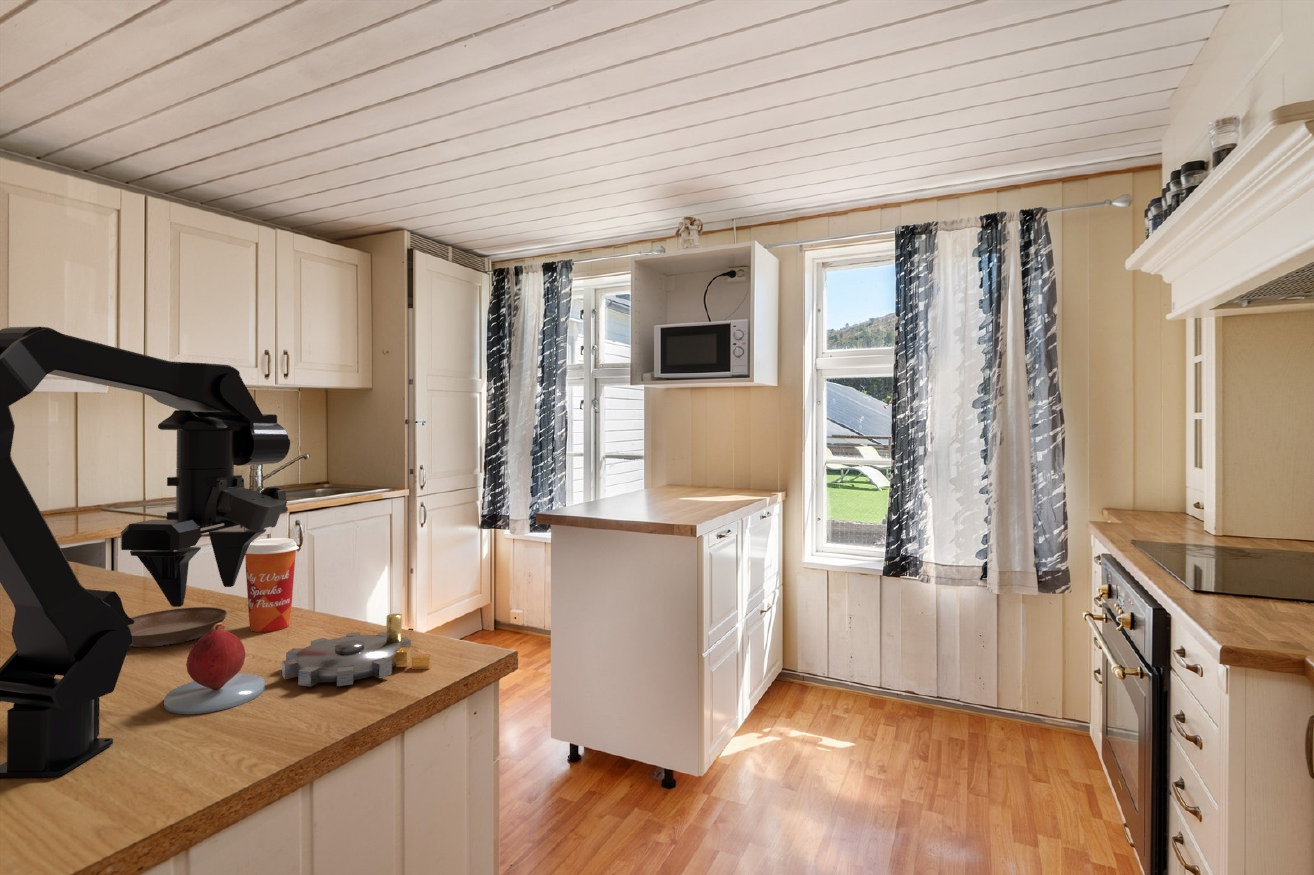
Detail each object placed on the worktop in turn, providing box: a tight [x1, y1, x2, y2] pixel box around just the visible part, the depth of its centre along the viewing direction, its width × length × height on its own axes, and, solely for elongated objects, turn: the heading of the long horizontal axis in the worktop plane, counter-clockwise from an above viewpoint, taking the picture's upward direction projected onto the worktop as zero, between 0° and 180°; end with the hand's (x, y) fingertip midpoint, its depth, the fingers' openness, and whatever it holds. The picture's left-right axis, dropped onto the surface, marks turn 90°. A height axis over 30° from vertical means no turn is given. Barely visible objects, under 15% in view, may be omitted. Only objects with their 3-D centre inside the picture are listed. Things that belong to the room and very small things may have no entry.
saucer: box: [128, 606, 229, 648], centre depth 99 cm, size 15×15×3 cm
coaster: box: [163, 673, 266, 715], centre depth 77 cm, size 10×10×1 cm
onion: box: [185, 621, 246, 690], centre depth 77 cm, size 6×6×8 cm
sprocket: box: [281, 613, 412, 687], centre depth 87 cm, size 16×16×5 cm
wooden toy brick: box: [411, 653, 433, 670], centre depth 87 cm, size 8×15×2 cm, turn 93°
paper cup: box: [244, 537, 300, 633], centre depth 104 cm, size 8×8×14 cm
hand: (204, 596), depth 77 cm, fingers open, 9 cm apart
